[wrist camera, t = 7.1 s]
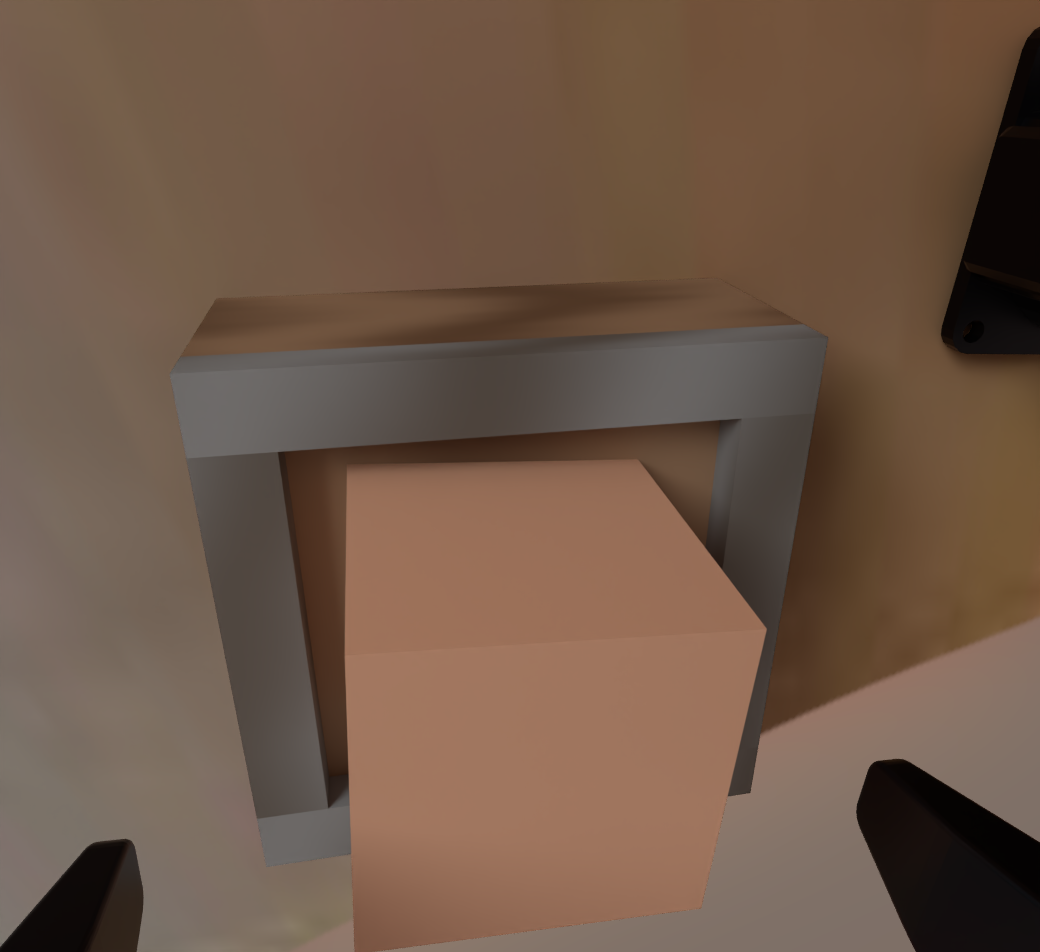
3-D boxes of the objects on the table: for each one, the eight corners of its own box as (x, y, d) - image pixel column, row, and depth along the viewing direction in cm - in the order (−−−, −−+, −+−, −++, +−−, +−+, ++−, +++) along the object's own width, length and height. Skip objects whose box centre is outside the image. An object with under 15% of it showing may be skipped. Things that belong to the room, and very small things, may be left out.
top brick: (637, 458, 14) (767, 629, 10) (606, 685, 16) (701, 908, 12) (347, 464, 13) (345, 655, 9) (354, 704, 15) (355, 953, 11)
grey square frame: (711, 274, 17) (828, 337, 13) (672, 653, 22) (750, 793, 17) (219, 294, 16) (169, 373, 11) (284, 699, 20) (266, 866, 16)
